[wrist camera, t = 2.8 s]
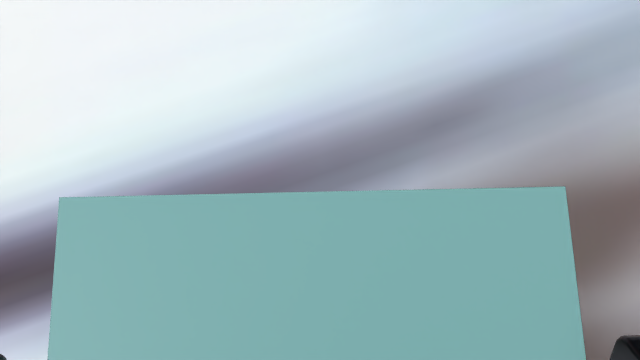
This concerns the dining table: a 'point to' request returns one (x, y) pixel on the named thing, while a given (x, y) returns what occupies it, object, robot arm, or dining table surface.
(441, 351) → the teal domino
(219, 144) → the dining table surface
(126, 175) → the dining table surface
